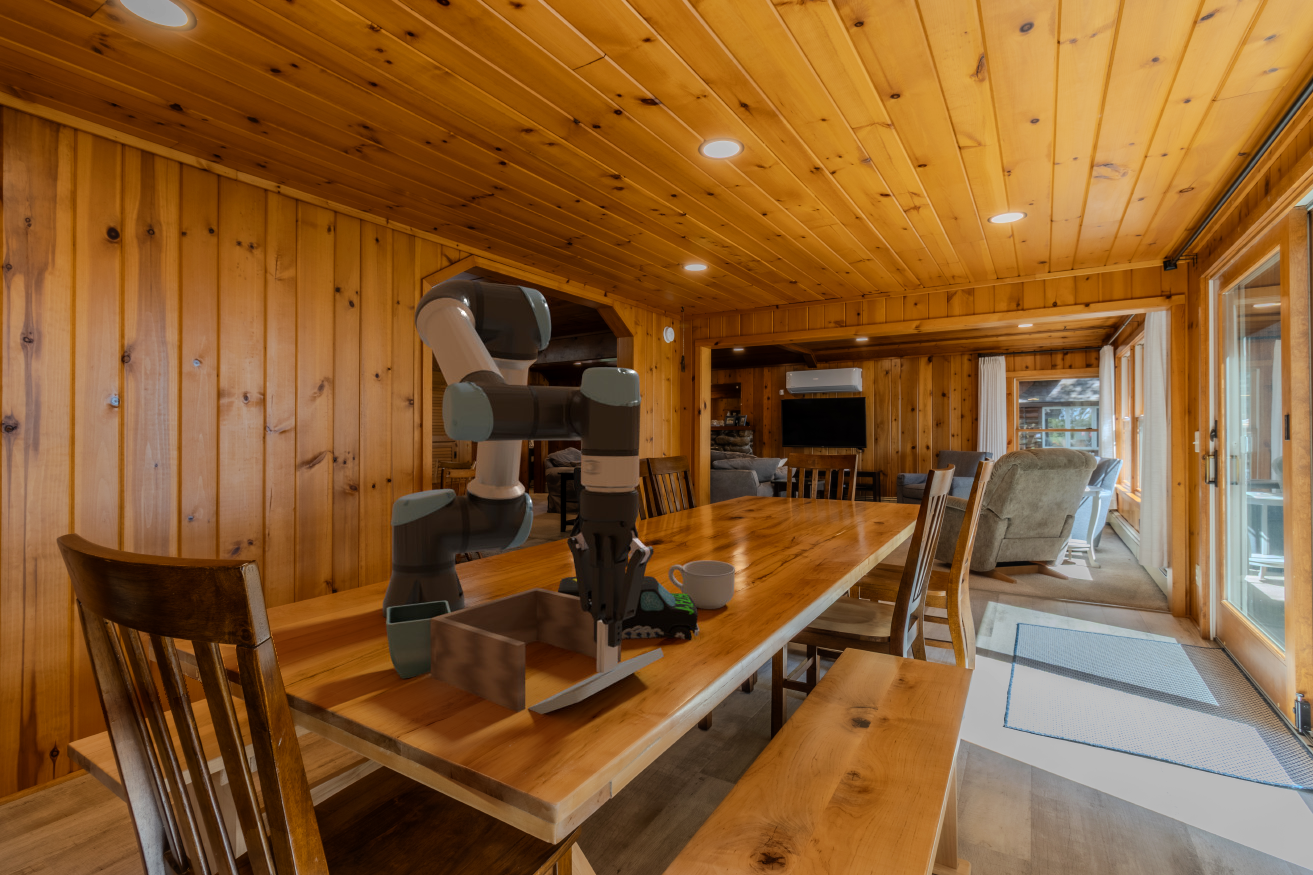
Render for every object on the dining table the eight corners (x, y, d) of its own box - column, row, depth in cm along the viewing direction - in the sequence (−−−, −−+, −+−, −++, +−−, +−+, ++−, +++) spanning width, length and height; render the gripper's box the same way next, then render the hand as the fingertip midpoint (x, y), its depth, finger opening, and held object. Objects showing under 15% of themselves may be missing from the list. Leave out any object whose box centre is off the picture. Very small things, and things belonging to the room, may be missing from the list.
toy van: (700, 646, 101) (700, 586, 101) (550, 650, 99) (550, 589, 99) (691, 625, 111) (691, 571, 111) (555, 628, 109) (555, 573, 109)
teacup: (743, 602, 125) (743, 564, 125) (720, 616, 116) (720, 574, 116) (685, 592, 133) (685, 556, 133) (658, 604, 124) (658, 565, 124)
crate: (430, 685, 85) (430, 618, 85) (537, 644, 101) (537, 587, 101) (518, 722, 74) (517, 645, 74) (620, 669, 91) (621, 606, 91)
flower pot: (386, 687, 84) (385, 623, 84) (386, 664, 92) (386, 606, 92) (452, 677, 88) (452, 615, 88) (447, 656, 96) (447, 599, 96)
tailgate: (528, 707, 75) (575, 691, 71) (616, 664, 89) (660, 647, 85) (531, 717, 75) (578, 701, 70) (619, 672, 89) (663, 656, 84)
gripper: (553, 486, 79) (551, 665, 80) (630, 494, 72) (627, 692, 72) (592, 482, 85) (590, 649, 86) (666, 489, 78) (664, 672, 78)
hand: (607, 668), depth 79 cm, fingers closed
